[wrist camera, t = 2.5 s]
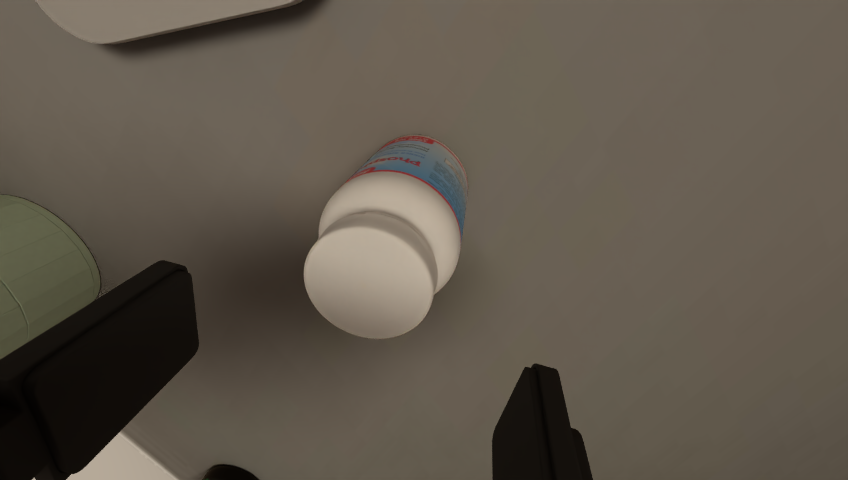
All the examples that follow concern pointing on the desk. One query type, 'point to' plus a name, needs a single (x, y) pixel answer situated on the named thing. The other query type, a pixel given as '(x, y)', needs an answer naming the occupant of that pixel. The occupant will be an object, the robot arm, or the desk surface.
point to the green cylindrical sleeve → (39, 272)
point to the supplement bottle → (228, 474)
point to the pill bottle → (389, 239)
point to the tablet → (146, 16)
